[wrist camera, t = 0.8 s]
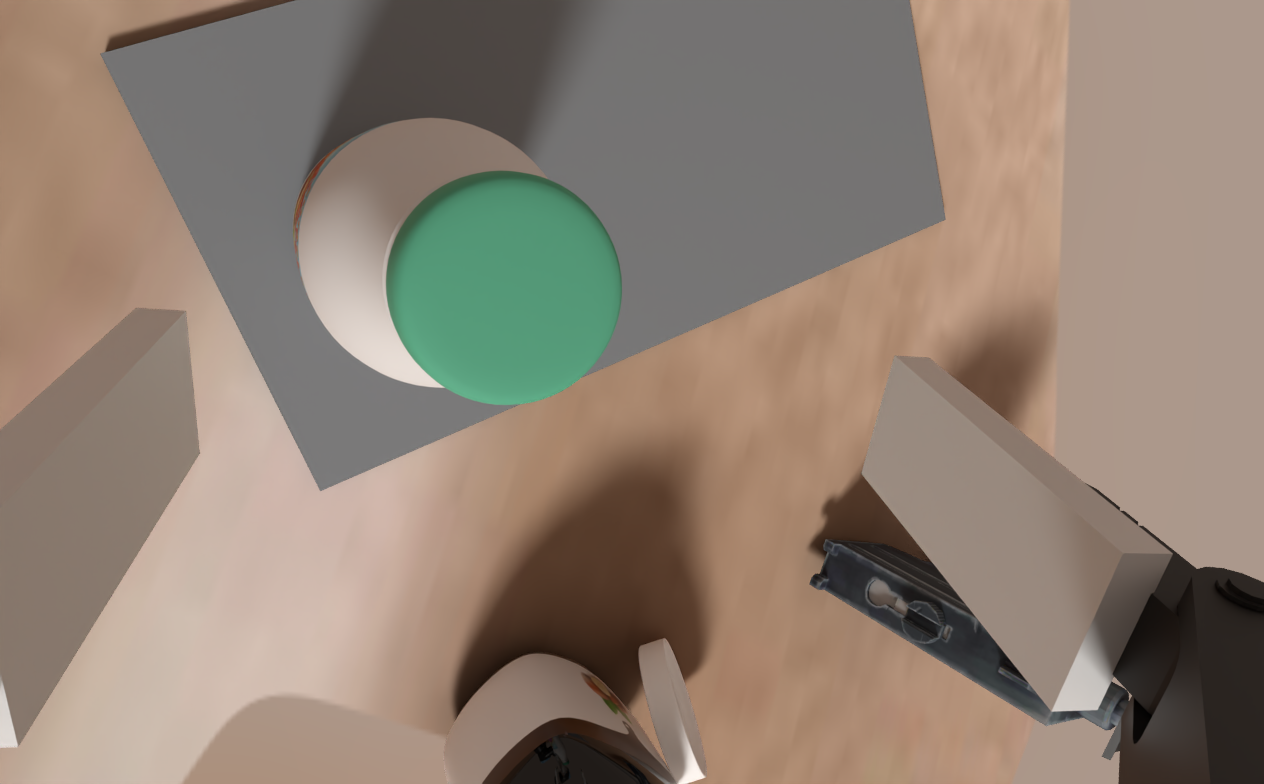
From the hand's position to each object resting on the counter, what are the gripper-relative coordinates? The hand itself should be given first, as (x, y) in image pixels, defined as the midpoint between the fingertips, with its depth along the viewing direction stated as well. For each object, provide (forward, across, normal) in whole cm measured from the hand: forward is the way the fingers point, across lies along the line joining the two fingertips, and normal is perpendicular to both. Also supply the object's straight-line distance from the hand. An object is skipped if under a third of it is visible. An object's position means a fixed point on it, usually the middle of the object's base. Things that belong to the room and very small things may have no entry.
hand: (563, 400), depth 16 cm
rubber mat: (+24, +4, +1) cm, 24 cm away
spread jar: (+18, +4, -26) cm, 32 cm away
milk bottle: (+21, -5, -2) cm, 21 cm away
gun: (+23, +25, -21) cm, 40 cm away
